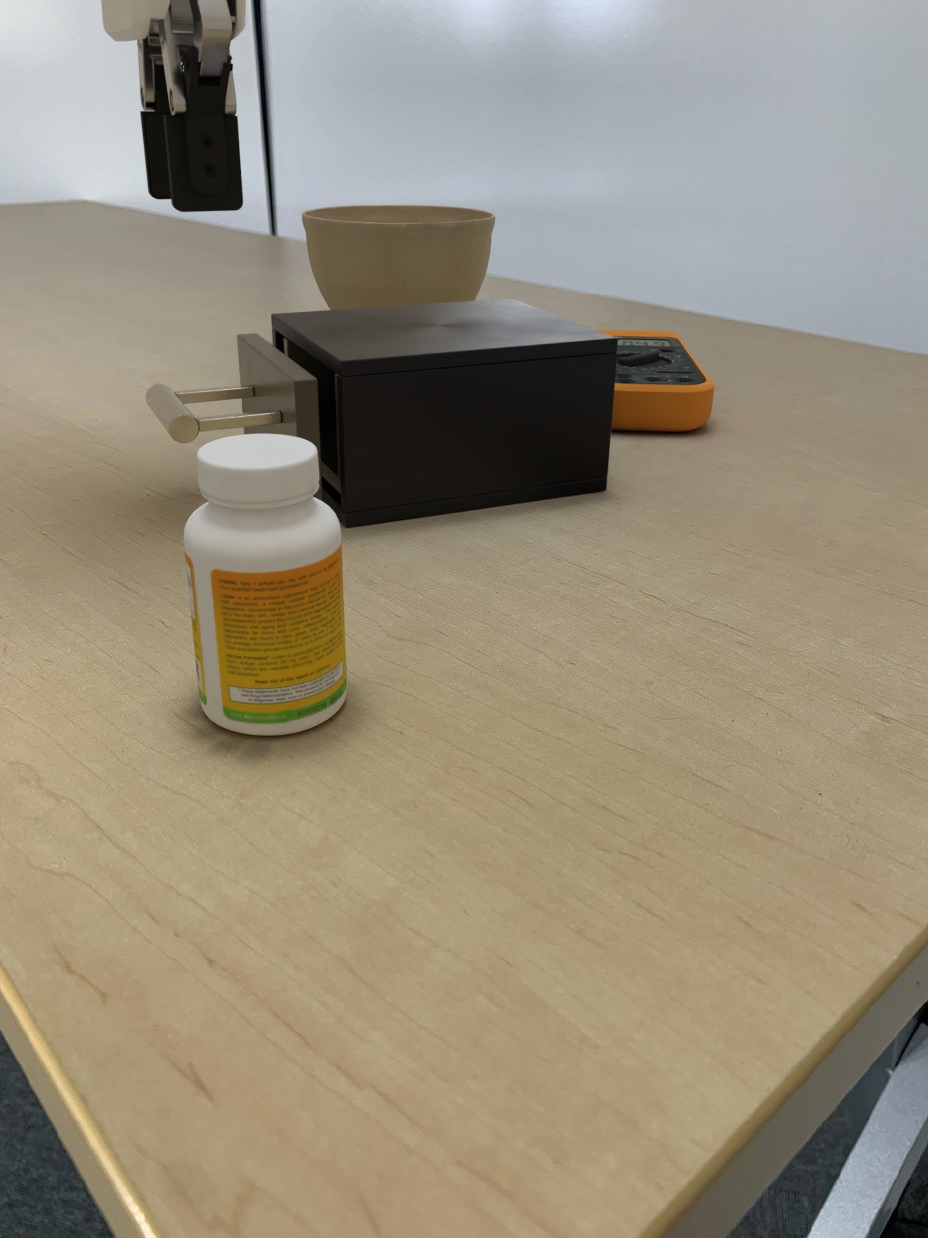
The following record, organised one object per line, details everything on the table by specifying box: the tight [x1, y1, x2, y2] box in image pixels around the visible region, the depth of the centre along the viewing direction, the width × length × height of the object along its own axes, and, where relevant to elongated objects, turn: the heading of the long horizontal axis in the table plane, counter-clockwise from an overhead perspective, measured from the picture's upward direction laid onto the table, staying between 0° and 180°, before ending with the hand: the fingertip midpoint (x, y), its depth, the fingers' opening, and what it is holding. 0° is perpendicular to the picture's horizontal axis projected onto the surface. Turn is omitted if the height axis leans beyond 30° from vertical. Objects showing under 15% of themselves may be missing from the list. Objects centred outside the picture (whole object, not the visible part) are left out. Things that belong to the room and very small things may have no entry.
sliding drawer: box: [145, 332, 341, 502], centre depth 61 cm, size 20×11×7 cm, turn 114°
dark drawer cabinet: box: [270, 297, 618, 528], centre depth 63 cm, size 16×13×9 cm
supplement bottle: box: [183, 434, 348, 736], centre depth 39 cm, size 5×5×10 cm
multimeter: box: [596, 329, 715, 433], centre depth 80 cm, size 9×18×3 cm, turn 179°
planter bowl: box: [301, 204, 496, 310], centre depth 94 cm, size 16×16×11 cm
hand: (194, 199), depth 53 cm, fingers open, 5 cm apart
